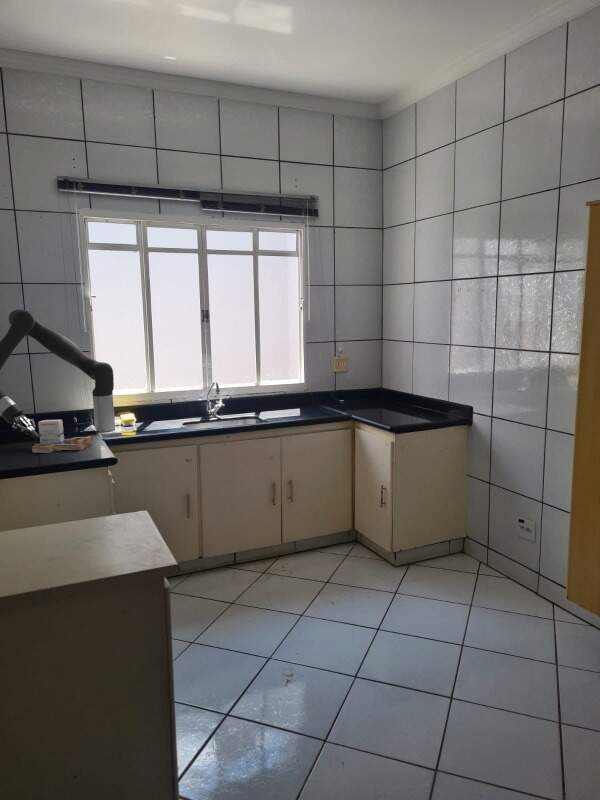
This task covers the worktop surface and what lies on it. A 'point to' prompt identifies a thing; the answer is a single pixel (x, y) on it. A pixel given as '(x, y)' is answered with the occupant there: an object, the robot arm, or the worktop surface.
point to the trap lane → (64, 445)
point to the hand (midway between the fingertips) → (37, 438)
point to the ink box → (51, 432)
